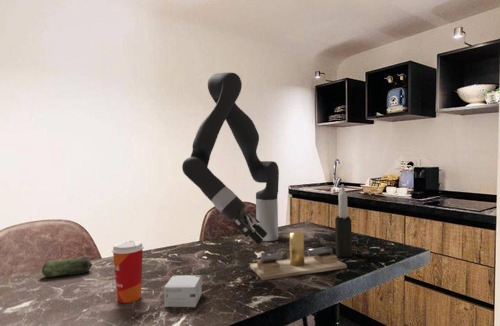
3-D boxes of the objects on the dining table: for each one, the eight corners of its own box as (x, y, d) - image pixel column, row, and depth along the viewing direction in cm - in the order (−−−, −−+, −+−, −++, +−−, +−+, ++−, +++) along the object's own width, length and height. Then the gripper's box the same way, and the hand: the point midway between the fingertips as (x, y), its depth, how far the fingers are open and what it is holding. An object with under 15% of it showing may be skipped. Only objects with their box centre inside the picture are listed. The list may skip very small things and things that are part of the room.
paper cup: (118, 292, 87) (117, 240, 87) (148, 291, 88) (146, 239, 87) (108, 306, 79) (106, 249, 79) (140, 304, 80) (139, 247, 80)
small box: (163, 307, 78) (163, 286, 78) (173, 294, 86) (172, 274, 86) (195, 308, 78) (195, 286, 78) (202, 294, 86) (202, 274, 85)
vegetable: (40, 281, 97) (39, 264, 97) (45, 275, 102) (44, 259, 102) (91, 274, 102) (91, 258, 101) (94, 269, 107) (93, 254, 106)
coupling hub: (287, 262, 105) (287, 231, 105) (300, 261, 107) (299, 230, 107) (293, 267, 101) (293, 235, 101) (307, 265, 102) (306, 233, 102)
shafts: (260, 261, 101) (260, 253, 101) (328, 252, 108) (328, 245, 108) (263, 263, 99) (263, 256, 99) (332, 254, 106) (332, 247, 106)
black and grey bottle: (349, 252, 118) (348, 183, 118) (352, 256, 113) (351, 184, 112) (335, 252, 119) (334, 183, 118) (337, 256, 114) (336, 185, 113)
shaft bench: (249, 267, 105) (249, 257, 105) (326, 256, 114) (326, 248, 114) (262, 280, 94) (262, 269, 93) (346, 267, 102) (346, 258, 102)
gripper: (230, 198, 100) (268, 236, 98) (240, 193, 114) (274, 226, 112) (214, 215, 101) (251, 253, 99) (226, 208, 115) (259, 241, 113)
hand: (263, 239), depth 106 cm, fingers open, 8 cm apart
